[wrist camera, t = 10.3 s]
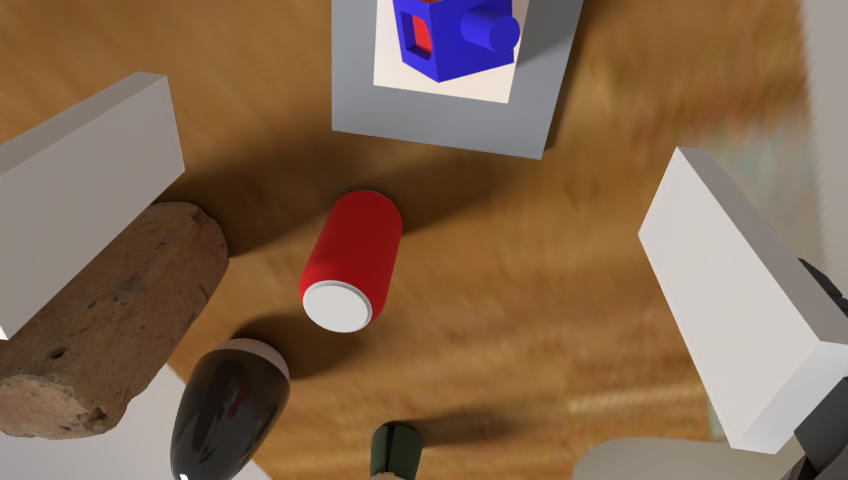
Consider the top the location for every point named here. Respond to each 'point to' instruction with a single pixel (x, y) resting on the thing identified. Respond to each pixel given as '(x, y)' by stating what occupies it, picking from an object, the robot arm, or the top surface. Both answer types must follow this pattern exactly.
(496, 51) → the toy building block
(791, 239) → the top surface
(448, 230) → the top surface
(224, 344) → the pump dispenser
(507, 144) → the build base
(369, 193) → the beverage can
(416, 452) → the character mug
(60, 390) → the block
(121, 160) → the robot arm
